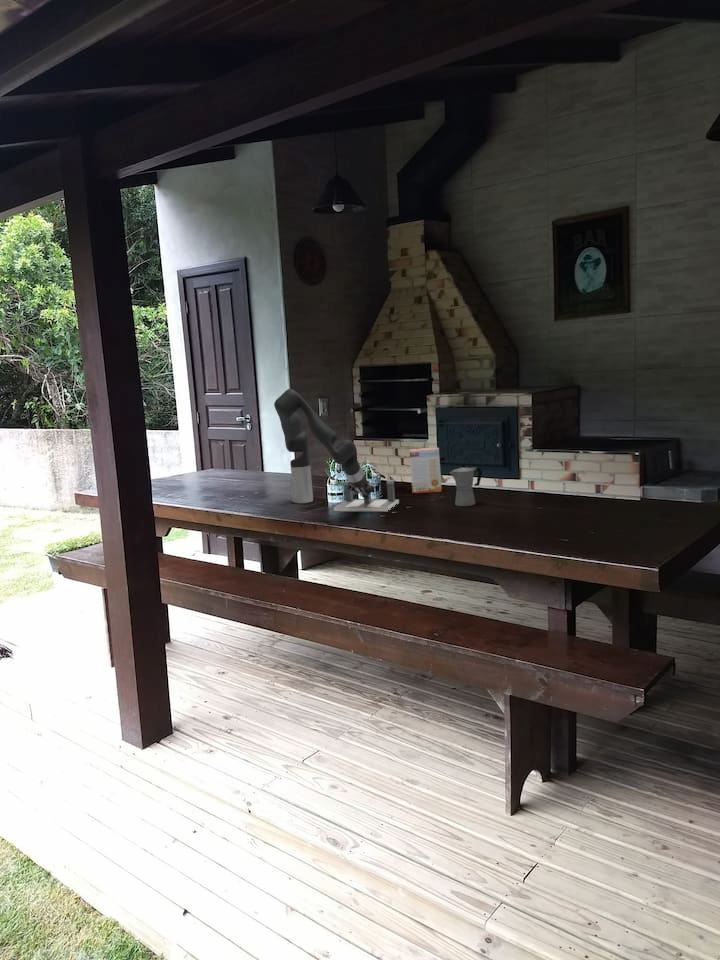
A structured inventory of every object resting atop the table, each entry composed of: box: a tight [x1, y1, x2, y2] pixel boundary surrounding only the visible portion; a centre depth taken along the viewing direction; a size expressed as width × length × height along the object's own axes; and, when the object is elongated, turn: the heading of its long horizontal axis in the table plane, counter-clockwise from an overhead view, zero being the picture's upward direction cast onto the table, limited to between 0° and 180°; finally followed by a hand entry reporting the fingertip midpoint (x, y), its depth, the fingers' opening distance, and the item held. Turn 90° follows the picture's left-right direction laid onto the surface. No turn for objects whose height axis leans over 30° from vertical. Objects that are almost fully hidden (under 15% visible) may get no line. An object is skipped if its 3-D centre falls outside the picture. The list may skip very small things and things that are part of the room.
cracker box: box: [409, 447, 443, 494], centre depth 356 cm, size 14×6×21 cm, turn 84°
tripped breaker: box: [363, 480, 372, 503], centre depth 333 cm, size 2×3×9 cm
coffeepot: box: [449, 462, 484, 507], centre depth 323 cm, size 15×9×18 cm, turn 107°
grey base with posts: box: [333, 479, 400, 512], centre depth 332 cm, size 25×17×11 cm
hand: (366, 497), depth 331 cm, fingers closed
